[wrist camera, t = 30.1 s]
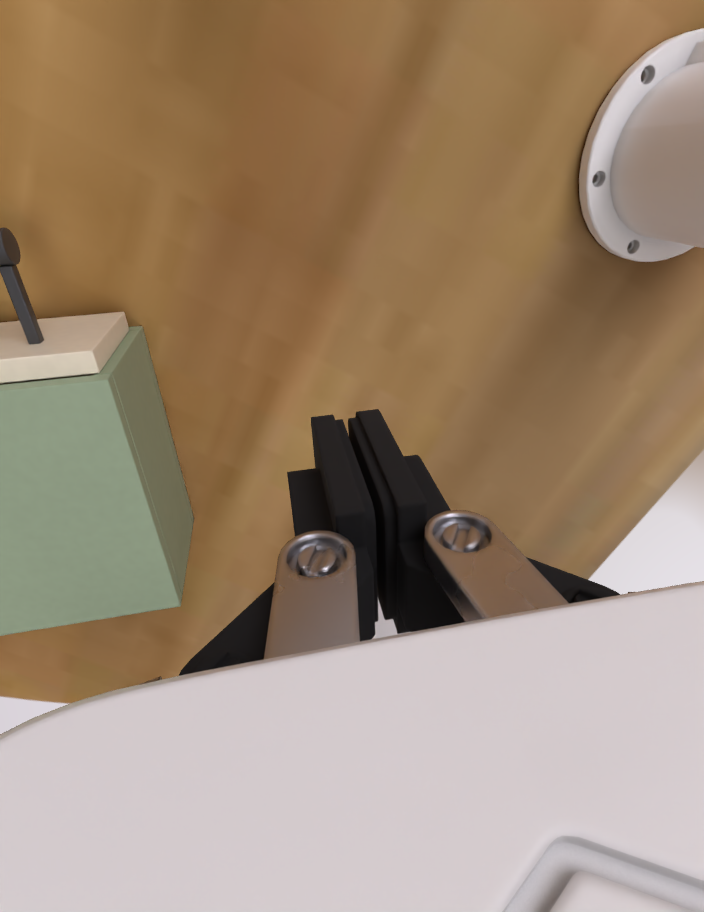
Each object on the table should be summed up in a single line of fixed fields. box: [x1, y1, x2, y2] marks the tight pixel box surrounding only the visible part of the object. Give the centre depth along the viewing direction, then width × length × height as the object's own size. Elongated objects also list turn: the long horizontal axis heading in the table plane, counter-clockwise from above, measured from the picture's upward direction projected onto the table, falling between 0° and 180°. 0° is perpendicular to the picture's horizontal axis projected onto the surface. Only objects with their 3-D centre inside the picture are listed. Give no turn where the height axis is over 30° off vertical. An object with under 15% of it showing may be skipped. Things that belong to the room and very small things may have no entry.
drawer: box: [0, 228, 129, 385], centre depth 29 cm, size 20×13×7 cm, turn 3°
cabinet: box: [0, 326, 194, 636], centre depth 31 cm, size 16×14×9 cm
